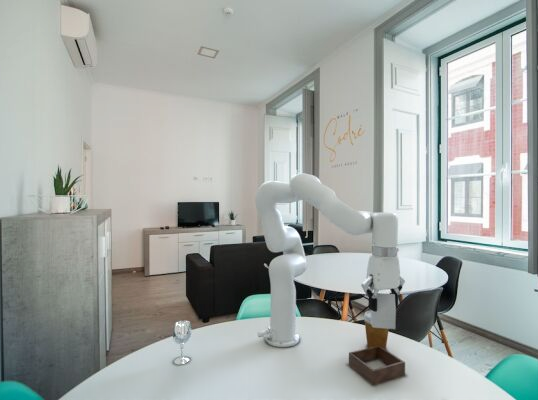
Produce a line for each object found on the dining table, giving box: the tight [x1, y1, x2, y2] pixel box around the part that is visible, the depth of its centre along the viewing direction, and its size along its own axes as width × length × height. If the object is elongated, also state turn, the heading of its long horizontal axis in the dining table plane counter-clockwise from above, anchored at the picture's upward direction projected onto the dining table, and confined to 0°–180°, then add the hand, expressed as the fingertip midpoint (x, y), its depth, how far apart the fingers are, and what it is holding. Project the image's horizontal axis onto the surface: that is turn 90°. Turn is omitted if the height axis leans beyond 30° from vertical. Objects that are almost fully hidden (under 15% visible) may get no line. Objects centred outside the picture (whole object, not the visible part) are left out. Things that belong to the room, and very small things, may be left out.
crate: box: [348, 346, 406, 386], centre depth 92 cm, size 12×11×4 cm
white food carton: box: [370, 292, 397, 330], centre depth 92 cm, size 4×7×10 cm, turn 83°
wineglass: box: [172, 320, 193, 366], centre depth 95 cm, size 6×6×12 cm
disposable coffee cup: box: [362, 310, 390, 350], centre depth 106 cm, size 10×10×12 cm
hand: (383, 308), depth 92 cm, fingers closed on white food carton, 7 cm apart
